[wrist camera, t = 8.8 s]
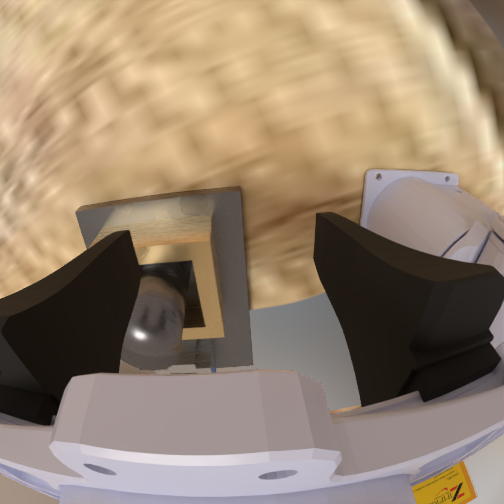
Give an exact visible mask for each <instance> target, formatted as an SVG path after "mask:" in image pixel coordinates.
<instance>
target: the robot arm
mask: <svg viewBox="0 0 504 504" xmlns="http://www.w3.org/2000/svg"><path fill="white" fill-rule="evenodd" d="M377 174H380V176H379V178H377V179H376V175H377ZM446 177H447V179H446V180H445V178H446ZM458 181H459V176H458V175H457V174H456V173H451V172H438V171H421V170H397V169H369V170H368V171H367V172H366V174H365V182H364V192H363V202H362V211H361V219H360V225H358V224H356V223H354V222H352V221H351V220H349V219H347V218H345V217H342V216H340V215H338V214H336V213H332V212H326V213H316V227H315V243H314V257H313V259H314V262H315V266H316V269H317V272H318V275H319V278H320V281H321V283H322V285H323V287H324V289H325V291H326V293H327V296H328V298H329V300H330V302H331V304H332V306H333V308H334V310H335V313H336V315H337V317H338V319H339V322H340V324H341V327H342V329H343V332H344V335H345V339H346V342H347V345H348V349H349V352H350V356H351V360H352V363H353V367H354V371H355V376H356V380H357V385H358V390H359V394H360V400H361V406H362V407H361V408H357V409H353V410H349V411H344V412H340V413H335V414H330V412H329V408H328V405H327V401H326V397H325V394H324V390H323V387H322V383H321V382H319V381H316V380H314V379H312V378H310V377H307V376H305V375H302V374H300V373H298V372H295V371H292V370H264V369H255V370H245V371H231V372H216V373H196V374H119V366H120V359H121V352H122V346H123V342H124V338H125V334H126V331H127V328H128V325H129V321H130V318H131V315H132V312H133V309H134V305H135V302H136V299H137V296H138V292H139V286H140V280H141V274H142V273H141V269H140V266H139V263H138V259H137V256H136V252H135V249H134V245H133V241H132V237H131V234H130V230H123V231H115V232H113V233H111V234H109V235H108V236H106V237H104V238H103V239H101V240H100V241H98V242H97V243H96V244H94V245H93V246H91V247H90V248H89V249H87V250H86V251H84V252H83V253H82V254H80V255H79V256H77V257H76V258H74V259H73V260H71V261H70V262H69V263H67V264H66V265H64V266H63V267H61V268H60V269H58V270H57V271H55V272H53V273H52V274H50V275H48V276H47V277H45V278H43V279H42V280H40V281H38V282H36V283H34V284H32V285H30V286H28V287H26V288H24V289H22V290H20V291H18V292H16V293H13V294H11V295H9V296H6V297H4V298H1V299H0V473H1V474H3V475H4V476H6V477H8V478H10V479H12V480H15V481H17V482H19V483H21V484H23V485H25V486H27V487H29V488H32V489H34V490H36V491H38V492H41V493H43V494H45V495H48V496H51V497H53V498H56V499H58V500H60V501H59V504H417V503H416V500H415V497H414V493H413V490H412V487H413V486H415V485H417V484H420V483H422V482H424V481H426V480H428V479H430V478H432V477H434V476H436V475H438V474H440V473H442V472H444V471H445V470H447V469H449V468H451V467H453V466H454V465H456V464H458V463H460V462H461V461H463V460H465V459H466V458H468V457H469V456H471V455H473V454H474V453H476V452H477V451H479V450H480V449H482V448H484V447H485V446H487V445H488V444H490V443H491V442H492V441H494V440H495V439H497V438H498V437H500V436H501V435H502V434H504V216H501V215H500V214H499V213H498V212H496V211H495V210H493V209H492V208H490V207H489V206H488V205H486V204H485V203H483V202H482V201H480V200H479V199H477V198H476V197H474V196H473V195H471V194H469V193H468V192H466V191H465V190H463V189H461V188H460V187H458Z"/></svg>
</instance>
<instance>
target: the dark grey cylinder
mask: <svg viewBox="0 0 504 504" xmlns="http://www.w3.org/2000/svg"><path fill="white" fill-rule="evenodd" d="M139 266H140V269H141V273H142V274H141V280H140V286H139V292H138V296H137V299H136V302H135V305H134V309H133V312H132V315H131V318H130V321H129V325H128V328H127V331H126V334H125V338H124V342H123V346H122V352H121V360H123V361H125V362H126V363H128V364H130V365H132V366H134V367H137V368H140V369H145V370H163V369H166V368H169V367H171V366H173V365H174V364H175V363H176V362H177V361H178V359H179V357H180V351H181V342H182V333H183V325H184V317H185V309H186V302H187V294H188V287H189V280H190V274H191V263H190V260H189V261H177V262H166V263H154V264H142V265H139Z"/></svg>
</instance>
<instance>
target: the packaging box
mask: <svg viewBox="0 0 504 504" xmlns="http://www.w3.org/2000/svg"><path fill="white" fill-rule="evenodd" d="M412 490H413V493H414V497H415V500H416V503H417V504H466V503H468V502H470V501H471V500H473V499H475V498H476V497H478V496H477V493H476V490H475V487H474V484H473V482H472V479H471V476H470V474H469V471H468V468H467V466H466V463H465V461H464V460H463V461H461V462H460V463H458V464H456V465H454V466H453V467H451V468H449V469H447V470H445V471H444V472H442V473H440V474H438V475H436V476H434V477H432V478H430V479H428V480H426V481H424V482H422V483H420V484H417V485H415V486H413V487H412Z"/></svg>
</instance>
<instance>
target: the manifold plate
mask: <svg viewBox="0 0 504 504" xmlns="http://www.w3.org/2000/svg"><path fill="white" fill-rule="evenodd" d="M75 213H76V216H77V220H78V223H79V226H80V229H81V233H82V236H83V239H84V242H85V245H86V248H87V249H89V248H90V247H91V246H93V245H94V244H96V243H97V242H98V241H100V240H101V239H103V238H104V237H106V236H108V235H109V234H111V233H113V232H115V231H123V230H130V234H131V237H132V241H133V245H134V249H135V252H136V256H137V259H138V263H139V265H142V264H154V263H166V262H177V261H189V260H190V263H191V274H190V280H189V287H188V294H187V302H186V309H185V317H184V325H183V333H182V342H181V351H180V357H179V359H178V361H177V362H176V363H175V364H174V365H173V366H171V367H169V368H166V369H163V370H155V371H156V373H157V374H196V373H216V368H223V367H237V366H249V365H253V357H252V343H251V331H250V317H249V303H248V290H247V276H246V263H245V249H244V235H243V221H242V206H241V191H240V186H237V187H225V188H214V189H204V190H194V191H185V192H176V193H168V194H160V195H152V196H145V197H137V198H130V199H123V200H117V201H110V202H104V203H98V204H92V205H86V206H81V207H80V208H79V209H78V210H77V211H76V212H75ZM139 369H140V368H139ZM140 370H145V369H140Z"/></svg>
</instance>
